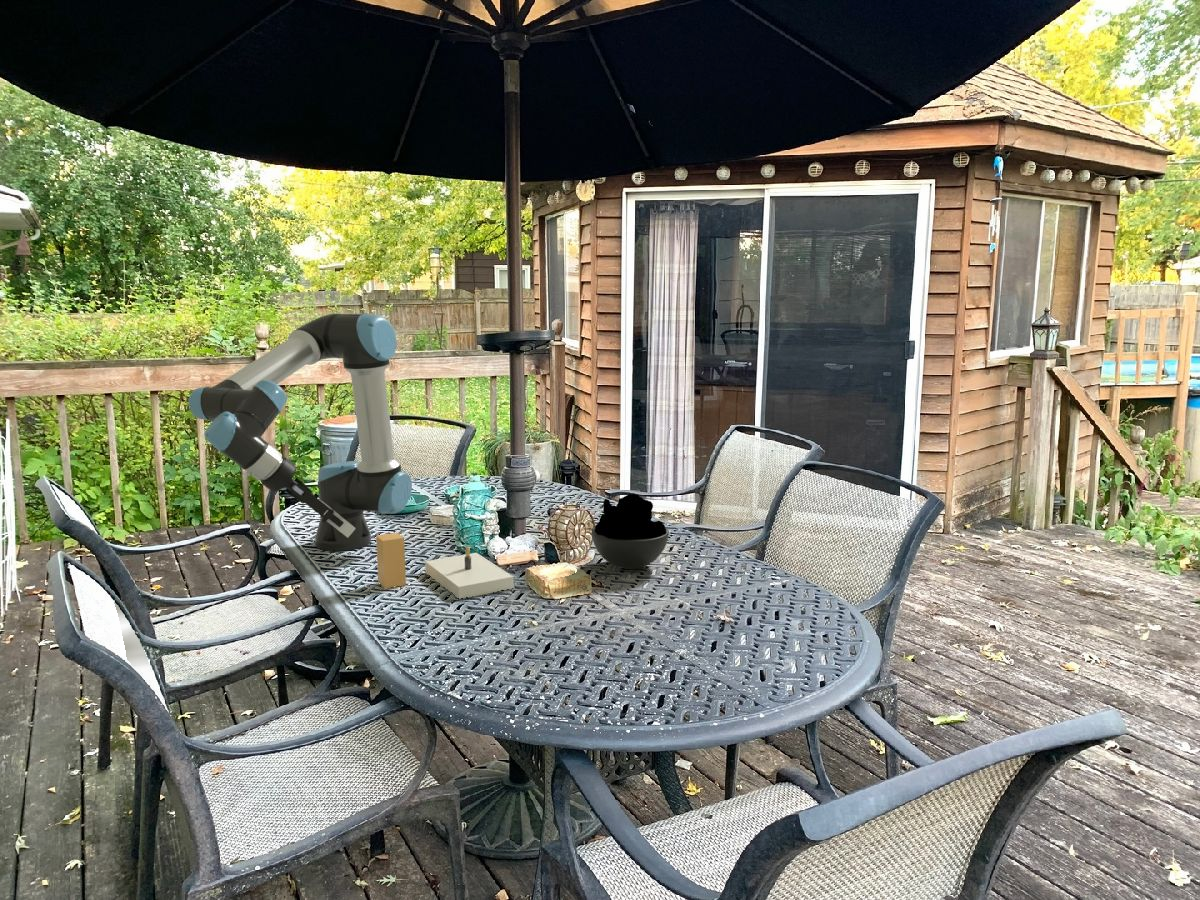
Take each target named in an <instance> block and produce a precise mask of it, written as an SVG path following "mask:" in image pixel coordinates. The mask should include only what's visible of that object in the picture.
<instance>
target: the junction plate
mask: <svg viewBox="0 0 1200 900" xmlns="http://www.w3.org/2000/svg"><path fill="white" fill-rule="evenodd" d="M470 551H471V547H470V546H466V547H465V554H459V555H455V556H448V557H442V558H438V559H436V558H435V559H431V560H425V563H424V564H425V567H424V568H425V573H426V574H427V575H428V576H429V575H430V576H431V577H430V576H429V577H430V578H432V579H433V580H434V579H435V580H434V581H435V582H436V583H438V582H439V583H440V584H439V583H438V584H439V585H441V586H442V587H443V586H444V587H445V589H446V590H447V589H448V590H449V591H450V592H449V591H448V590H447V591H448V592H449V593H451V592H452V593H453V594H454V595H455V596H454V595H453V594H452V593H451V594H452V595H453V596H454V597H455V598H457V599H458V598H459V599H458V600H460V599H461V598H463V599H467V598H466V597H468V598H472V596H473V597H477V596H478V597H479V596H482V595H488V594H493V592H494V593H498V592H497V591H499V592H502V591H501V590H504V591H508V590H507V589H509V590H513V589H512V588H514V586H515V585H514V584H515V583H514V576H513V575H512V574H510V573H509V572H507V571H506V570H504V569H503V568H501V567H500V566H498V565H496V564H494V563H493V562H492V561H490V560H488V559H487V558H485V557H484V556H482V555H481V554H479V553H478V552H474V553H471V552H470ZM444 587H443V588H444ZM461 600H462V599H461Z"/></svg>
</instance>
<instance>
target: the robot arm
mask: <svg viewBox="0 0 1200 900" xmlns="http://www.w3.org/2000/svg"><path fill="white" fill-rule="evenodd" d="M397 341H398V340H397V333H396V332H395V329H394V327H393V324H392V323H391V322H390V321H389V320H388V319H387V318H385V317H384V316H383V315H378V314H371V313H329V314H325V315H323V316H319V317H317V318H315V319H312V320H311V321H309V322H307V323H304V324H302V325H301V326H300V327H298V328H296V329H294V330H293V331H291V333H289V335H288V338H287V340H285V341H284V342H282V343H280V344H279V345H277V346H276V347H274V348H273V349H271V350H269V351H268V352H266V353H265V354H263V355H261V356H260V357H258V358H257V359H255V360H253V361H252V362H250V363H248V364H247V365H245V366H244V367H243V368H241V369H240V370H238V371H236V372H234V373H233V374H231V375H230V376H228V377H227V378H225V379H224V380H221V382H218V383H216V384H215V385H214V386H201V387H197V388H195V389H194V390H193V391H192V392H191V394H189V398H188V408H189V411H190V412H191V414H192V415H193V416H194V417H195V418H197V419H199V420H204V421H209V422H210V423H209V424H208V426H207V427H206V429H205V431H204V438H205V439H206V441H207V442H209V444H210V445H212V446H213V447H214V448H215V449H216V450H217V451H218V452H220V453H222V454H223V455H224V456H226V457H227V458H229V459H230V460H231V461H232V462H234V463H235V464H236V465H237V466H239V467H241V469H243V470H244V471H245V472H246V473H245V475H246V476H247V477H250V476H252V477H253V478H254V479H256V481H260V483H261V484H262V485H263V486H264V487H265V488H267V489H268V490H269V491H270V492H272V493H277V492H279V491H280V490H282V488H284V487H286V488H285V490H284V492H286V493H287V494H288V495H289V496H290V497H291V498H294V499H296V500H297V501H299V502H300V503H301V504H306V506H308V507H309V508H310V509H312V510H313V511H314V512H315V513H316V514H318V515H320V517H319V518H320V520H319V523H318V526H317V530H316V532H315V533H316V534H315V537H314V543H315V547H316V548H317V549H320V550H324V551H333V552H334V551H335V552H336V551H337V552H340V551H341V552H342V551H350V550H351V551H352V550H355V549H360V548H364V547H366V546H368V545H370V544H371V543H372V534H371V530H370V527H369V526H368V523H367V521H366V519H365V516H364V512H370V513H378V514H381V515H382V514H383V515H385V514H391V515H392V514H397V513H400V512H401V511H402V510H403V509H405V507H407V504H408V502H409V501H410V498H411V496H412V491H413V481H412V477H411V476H410V475H409V473H407V472H405V471H403V470H402V463H401V461H400V460H399V459H398V458H396V457H395V453H394V444H393V436H392V427H391V426H392V425H391V418H390V409H389V408H390V406H389V401H388V400H389V399H388V390H387V382H386V374H385V372H386V369H388V367H389V366H390V359H392V358H393V357H394V355H395V353H396V349H397V345H398V344H397V343H398V342H397ZM327 359H342V363H343V369H344V370H345V371H347V372H348V373H349V374H350V379H351V386H352V395H353V403H354V410H355V411H354V412H355V420H356V427H357V434H358V442H359V449H360V450H359V452H360V459H361V461H359V460H350V461H349V460H348V461H341V462H335V463H331V464H326V465H323V466H321V467H320V468H319V469H318V473H317V475H318V476H317V477H318V480H317V486H318V488H317V489H318V493H317V492H315V493H314V492H313V490H312V489H310V488H309V487H308V486H306V484H305V483H304V482H303V481H302V480H301V479H299V478H298V477H296V478H295V479H294V478H293V476H294V475H296V472H297V466H296V465H295V464H294V463H293V462H292V461H290V460H289V459H288V458H287V457H285V456H284V457H283V454H282V453H281V452H280V451H278V449H276V448H275V447H274V446H273V445H271V444H270V443H269V442H267V441H266V440H264V438H262V436H263V435H264V434H265V432H266V431H267V430H268V428H269V427H270V426H271V424H272V423H273V422H274V421H275V419H276V418H277V416H278V415H280V413H281V411H282V409H283V408H284V406H285V405H286V403H287V401H288V398H287V397H288V396H287V393H286V392H285V391H284V389H283V388H282V387H281V386H280V385H279V383H281V382H283V381H284V380H286V379H287V378H289V377H290V376H292V375H293V374H294V373H296V372H298V371H299V370H300V369H302V368H304V367H305V366H306V365H308V366H312V365H315V364H316V363H319V361H322V360H327Z"/></svg>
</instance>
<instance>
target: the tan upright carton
mask: <svg viewBox="0 0 1200 900" xmlns="http://www.w3.org/2000/svg"><path fill="white" fill-rule="evenodd" d="M375 539H376V561H377V580H378V581H377V582H379V583H380V584H381V585H382V586H383V587H384V588H389V587H394V586H400V587H402V586H401V585H405V586H407V584H406V583H407V578H406V554H405V553H406V550H405V549H406V548H405V547H406V546H405V537H404V536H403V535H401V534H400V533H399V532H393V533H386V534H385V533H384V534H377V535H376V536H375ZM379 583H378V584H379ZM380 584H379V585H380ZM381 585H380V586H381ZM382 586H381V587H382ZM383 587H382V588H383ZM384 588H383V589H384ZM394 588H395V587H394ZM389 589H390V588H389Z"/></svg>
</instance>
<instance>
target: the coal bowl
mask: <svg viewBox="0 0 1200 900" xmlns="http://www.w3.org/2000/svg"><path fill="white" fill-rule="evenodd" d="M602 505H603V511H602V512H603V514H601V516H600V518H599V520H598V522H597V523H596V524H595V525H594V526H593V527H594V529H593V530H592V529H591V531H592V532H591V538H592V542H593V545H594V547H595V548H596V549H595V550H596V551H597V553H599V555H600V556H601V557H602V558H603V559H604V560H605V561H606V562H608V563H609V564H610V565H612V566H615V567H617V568H619V569H620V568H621V569H623V570H624V569H625V570H636V569H640V568H643V567H646V566H648V565H650V564H652V563H653V562H655V561H656V560H657V559H658V558H659V557H660V556H661V555H662V553H663V551H664V550H665V549H666V546H667V544H668V540H669V535H670V531H669V529H668V527H666V525H665V524H664V522H662V521H661V520H657V521H653V520H652V518H653V512H652V511H653V508H654V503H653V502H652V501H651V500H648V499H645V498H643V497H642V496H641V495H639V494H636V493H628V494H627V495H625V496H623V497H620V498H618V503H617V504H616V505H613V504H611V501H610V499H608V498H604V499H603V503H602Z"/></svg>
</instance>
